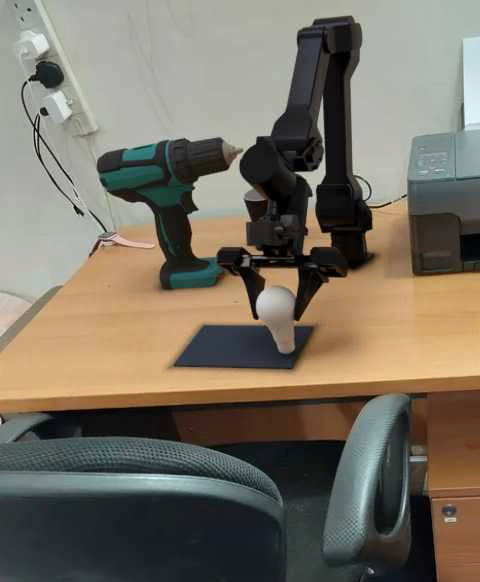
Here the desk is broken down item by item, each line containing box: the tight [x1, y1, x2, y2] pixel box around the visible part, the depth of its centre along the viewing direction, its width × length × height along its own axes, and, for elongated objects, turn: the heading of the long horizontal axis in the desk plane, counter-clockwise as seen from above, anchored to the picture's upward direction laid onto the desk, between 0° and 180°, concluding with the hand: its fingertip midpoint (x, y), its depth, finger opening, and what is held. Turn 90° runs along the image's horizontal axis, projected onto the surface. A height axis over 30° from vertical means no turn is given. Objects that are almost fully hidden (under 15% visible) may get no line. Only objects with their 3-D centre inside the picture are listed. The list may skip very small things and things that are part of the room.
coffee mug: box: [242, 187, 269, 222], centre depth 134 cm, size 12×9×10 cm
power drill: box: [96, 136, 244, 291], centre depth 120 cm, size 26×9×25 cm, turn 84°
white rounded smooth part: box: [256, 285, 296, 354], centre depth 98 cm, size 6×6×11 cm
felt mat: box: [173, 324, 314, 370], centre depth 105 cm, size 20×12×1 cm, turn 77°
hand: (275, 320), depth 96 cm, fingers closed on white rounded smooth part, 6 cm apart
